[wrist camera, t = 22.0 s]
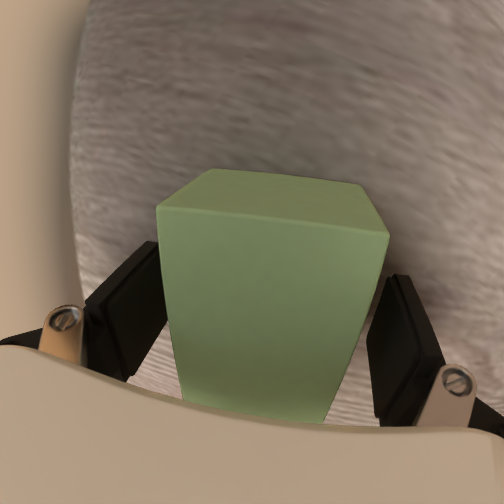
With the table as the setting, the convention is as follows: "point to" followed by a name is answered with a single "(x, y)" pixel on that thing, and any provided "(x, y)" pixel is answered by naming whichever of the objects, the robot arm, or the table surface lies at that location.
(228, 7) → the table surface
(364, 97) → the table surface
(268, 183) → the sage pad
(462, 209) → the table surface
